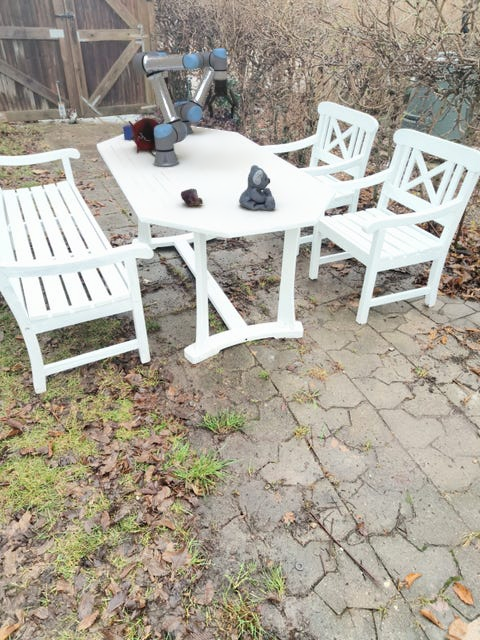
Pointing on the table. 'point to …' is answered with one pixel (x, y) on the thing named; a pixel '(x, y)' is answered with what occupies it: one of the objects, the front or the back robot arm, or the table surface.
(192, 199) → the rock
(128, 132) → the block
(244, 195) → the koala plush
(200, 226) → the table surface
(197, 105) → the back robot arm
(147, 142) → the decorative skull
